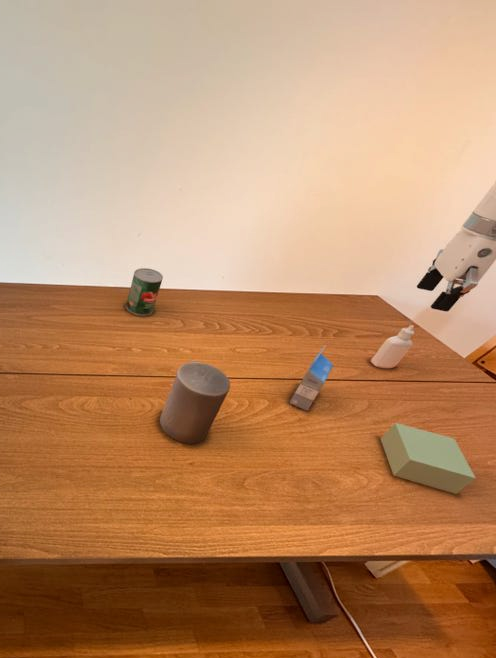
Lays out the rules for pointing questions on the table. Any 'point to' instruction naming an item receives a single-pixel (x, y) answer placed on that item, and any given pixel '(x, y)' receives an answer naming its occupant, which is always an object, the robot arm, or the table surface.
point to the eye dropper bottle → (394, 349)
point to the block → (426, 458)
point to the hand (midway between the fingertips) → (431, 298)
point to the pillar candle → (194, 402)
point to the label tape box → (312, 382)
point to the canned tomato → (144, 291)
